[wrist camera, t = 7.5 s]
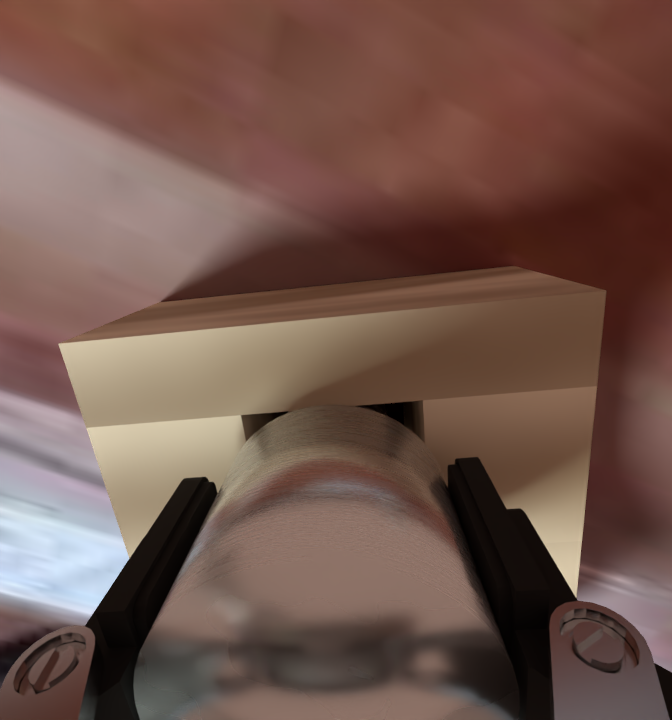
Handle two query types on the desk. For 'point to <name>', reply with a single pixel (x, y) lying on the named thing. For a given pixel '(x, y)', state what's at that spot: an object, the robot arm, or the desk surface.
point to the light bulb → (328, 588)
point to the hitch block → (355, 384)
